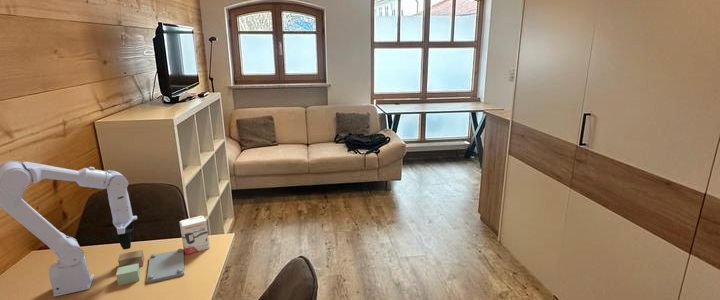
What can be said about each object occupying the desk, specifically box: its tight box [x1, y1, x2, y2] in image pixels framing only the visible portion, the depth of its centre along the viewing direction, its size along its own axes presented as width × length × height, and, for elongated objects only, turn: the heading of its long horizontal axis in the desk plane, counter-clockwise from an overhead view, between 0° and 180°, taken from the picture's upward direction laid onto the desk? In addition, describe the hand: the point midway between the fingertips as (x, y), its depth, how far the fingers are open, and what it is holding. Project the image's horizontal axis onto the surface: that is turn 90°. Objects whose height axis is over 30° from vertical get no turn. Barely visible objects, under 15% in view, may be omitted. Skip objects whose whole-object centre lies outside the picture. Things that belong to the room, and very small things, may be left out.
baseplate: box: [146, 248, 185, 284], centre depth 136 cm, size 11×16×2 cm
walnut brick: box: [117, 249, 145, 268], centre depth 137 cm, size 7×4×4 cm, turn 113°
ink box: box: [178, 215, 211, 256], centre depth 145 cm, size 8×5×12 cm, turn 123°
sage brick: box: [115, 264, 141, 286], centre depth 129 cm, size 6×4×4 cm
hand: (128, 243), depth 135 cm, fingers open, 7 cm apart
